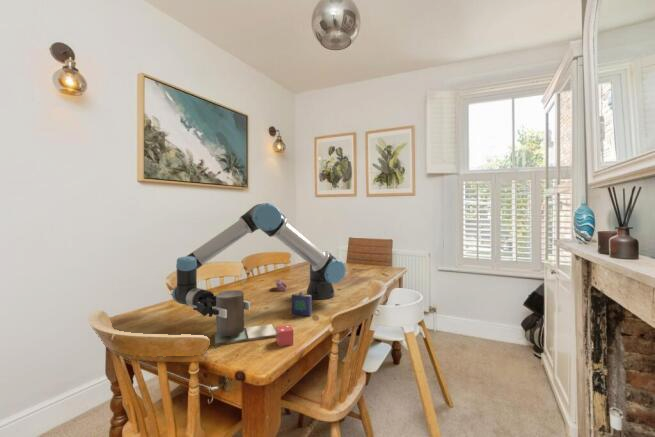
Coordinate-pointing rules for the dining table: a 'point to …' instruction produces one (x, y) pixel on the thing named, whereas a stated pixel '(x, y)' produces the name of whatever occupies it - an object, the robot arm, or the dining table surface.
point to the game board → (247, 335)
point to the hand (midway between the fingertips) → (238, 309)
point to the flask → (301, 304)
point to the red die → (284, 335)
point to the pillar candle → (230, 313)
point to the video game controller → (281, 285)
